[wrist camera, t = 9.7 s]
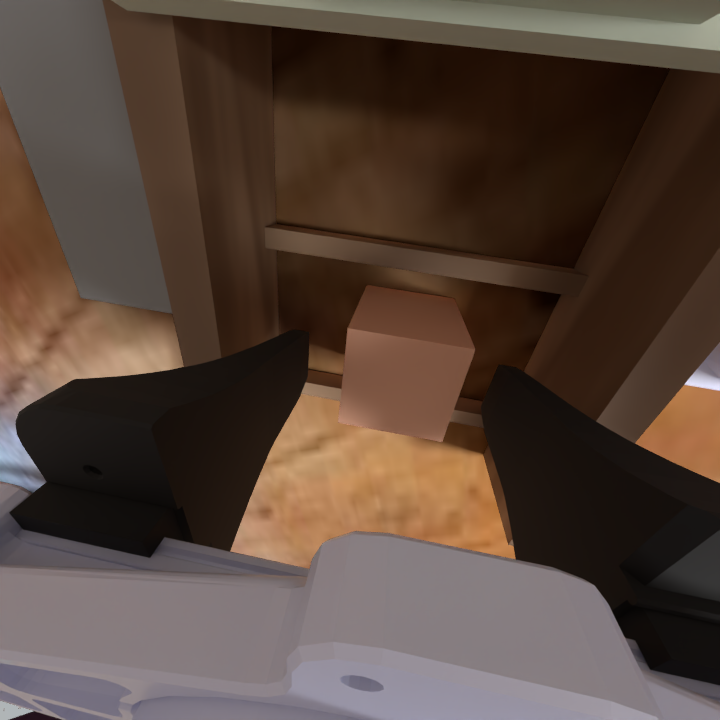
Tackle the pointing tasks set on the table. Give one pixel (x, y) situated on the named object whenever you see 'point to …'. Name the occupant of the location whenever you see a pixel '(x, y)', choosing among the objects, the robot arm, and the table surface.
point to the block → (404, 363)
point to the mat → (81, 146)
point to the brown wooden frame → (264, 237)
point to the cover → (496, 24)
